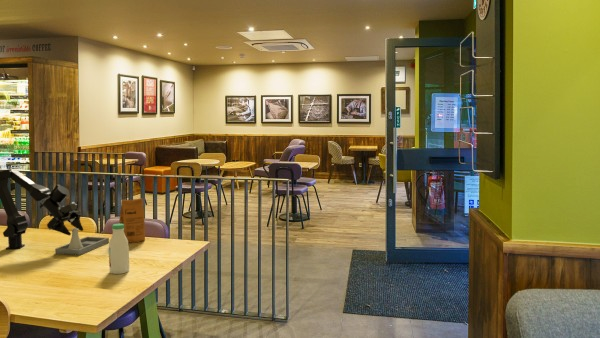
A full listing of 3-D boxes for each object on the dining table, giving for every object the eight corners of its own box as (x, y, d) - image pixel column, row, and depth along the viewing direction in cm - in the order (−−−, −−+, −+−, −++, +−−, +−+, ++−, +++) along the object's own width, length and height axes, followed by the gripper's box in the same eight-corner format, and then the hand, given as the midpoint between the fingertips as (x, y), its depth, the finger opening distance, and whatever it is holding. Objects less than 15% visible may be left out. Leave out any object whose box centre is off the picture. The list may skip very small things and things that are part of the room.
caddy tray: (55, 253, 225) (55, 248, 225) (87, 241, 248) (86, 236, 248) (79, 255, 223) (79, 250, 222) (109, 242, 246) (108, 237, 246)
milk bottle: (133, 269, 202) (131, 223, 200) (120, 275, 195) (119, 227, 193) (118, 267, 205) (116, 221, 203) (105, 273, 198) (103, 225, 195)
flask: (81, 251, 227) (81, 230, 226) (65, 251, 226) (64, 231, 225) (85, 247, 234) (84, 227, 233) (69, 247, 233) (69, 227, 232)
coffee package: (118, 240, 251) (116, 198, 249) (142, 237, 258) (141, 196, 255) (121, 244, 243) (120, 201, 241) (146, 241, 249) (145, 199, 247)
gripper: (51, 200, 219) (74, 225, 218) (77, 194, 237) (98, 217, 236) (37, 217, 221) (59, 241, 220) (64, 209, 239) (84, 232, 239)
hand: (76, 232), depth 229 cm, fingers open, 9 cm apart
